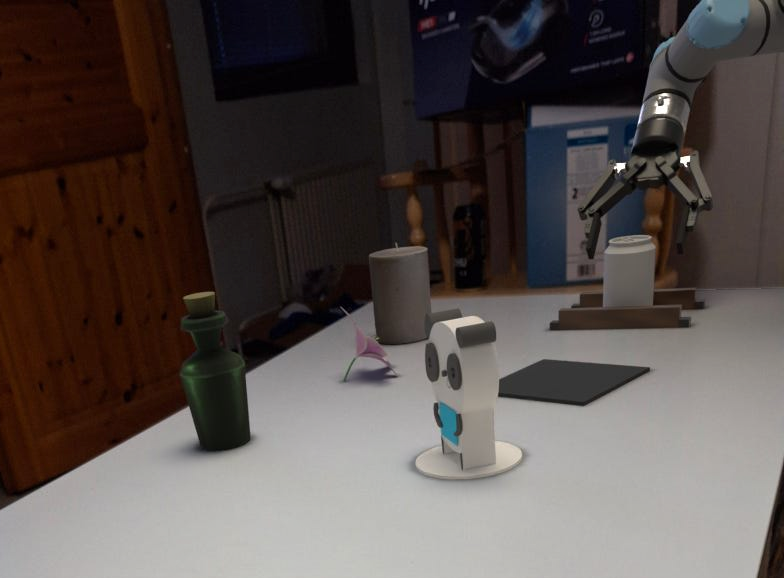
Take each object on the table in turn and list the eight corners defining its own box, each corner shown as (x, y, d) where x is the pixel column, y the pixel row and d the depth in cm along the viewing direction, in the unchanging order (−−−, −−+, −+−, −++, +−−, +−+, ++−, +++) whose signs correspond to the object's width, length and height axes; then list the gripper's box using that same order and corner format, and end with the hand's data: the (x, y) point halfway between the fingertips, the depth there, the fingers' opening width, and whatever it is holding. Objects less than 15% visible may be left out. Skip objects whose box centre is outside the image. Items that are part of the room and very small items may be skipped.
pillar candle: (364, 344, 157) (355, 249, 150) (398, 330, 163) (390, 238, 156) (412, 345, 151) (404, 247, 144) (445, 331, 157) (439, 236, 150)
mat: (650, 371, 121) (650, 367, 120) (583, 406, 112) (583, 402, 111) (543, 362, 131) (543, 358, 131) (475, 394, 122) (474, 390, 122)
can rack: (705, 306, 147) (706, 287, 146) (688, 327, 137) (690, 306, 136) (573, 311, 157) (573, 292, 156) (549, 330, 147) (549, 310, 146)
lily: (383, 397, 131) (408, 329, 128) (307, 368, 132) (330, 300, 129) (395, 399, 142) (419, 337, 139) (325, 373, 144) (347, 311, 141)
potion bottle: (250, 428, 122) (226, 285, 114) (263, 444, 115) (238, 293, 107) (190, 440, 121) (161, 297, 112) (199, 458, 114) (168, 306, 105)
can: (624, 326, 143) (627, 243, 137) (592, 320, 149) (593, 240, 143) (663, 316, 145) (667, 234, 139) (629, 311, 151) (632, 232, 146)
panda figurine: (400, 454, 105) (389, 317, 98) (495, 435, 107) (490, 299, 99) (435, 487, 95) (425, 337, 88) (539, 465, 96) (537, 316, 89)
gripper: (577, 126, 151) (549, 241, 148) (744, 105, 139) (718, 230, 136) (585, 159, 158) (559, 270, 154) (745, 141, 145) (721, 261, 142)
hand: (633, 251), depth 145 cm, fingers open, 13 cm apart
